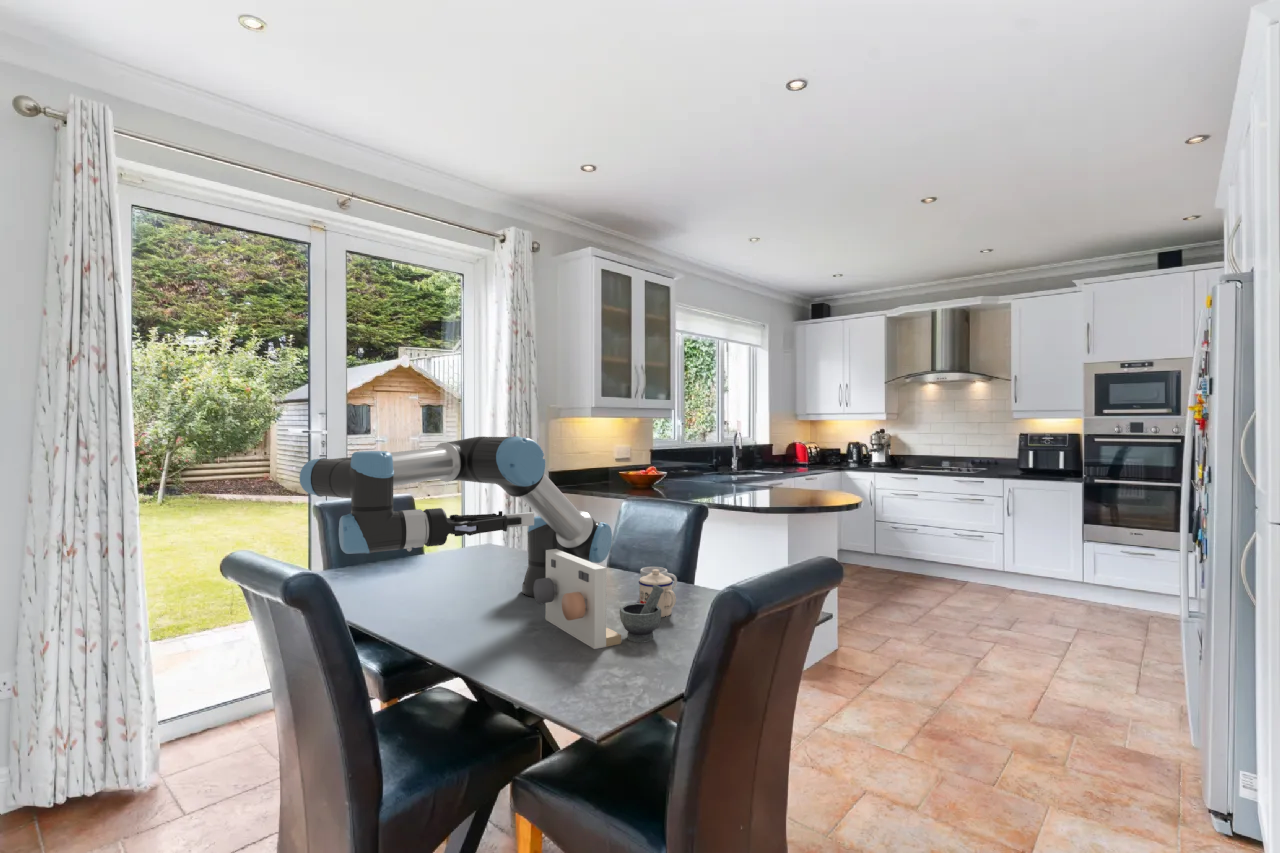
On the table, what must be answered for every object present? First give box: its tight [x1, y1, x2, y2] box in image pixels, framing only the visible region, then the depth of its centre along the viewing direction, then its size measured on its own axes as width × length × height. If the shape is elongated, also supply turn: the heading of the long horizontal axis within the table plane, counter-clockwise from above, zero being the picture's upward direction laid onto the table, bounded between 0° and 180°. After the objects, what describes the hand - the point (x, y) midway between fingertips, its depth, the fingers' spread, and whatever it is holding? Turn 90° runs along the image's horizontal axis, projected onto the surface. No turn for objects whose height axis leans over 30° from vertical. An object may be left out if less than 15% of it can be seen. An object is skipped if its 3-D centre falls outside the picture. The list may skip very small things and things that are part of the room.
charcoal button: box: [533, 578, 557, 605], centre depth 166 cm, size 10×6×6 cm, turn 123°
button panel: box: [545, 549, 622, 650], centre depth 161 cm, size 7×26×18 cm, turn 33°
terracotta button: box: [562, 592, 587, 620], centre depth 152 cm, size 10×6×6 cm, turn 123°
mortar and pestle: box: [619, 585, 664, 643], centre depth 156 cm, size 11×9×12 cm
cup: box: [639, 566, 678, 591], centre depth 192 cm, size 11×8×8 cm
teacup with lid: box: [638, 569, 677, 618], centre depth 175 cm, size 12×9×12 cm
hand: (532, 518), depth 145 cm, fingers closed
